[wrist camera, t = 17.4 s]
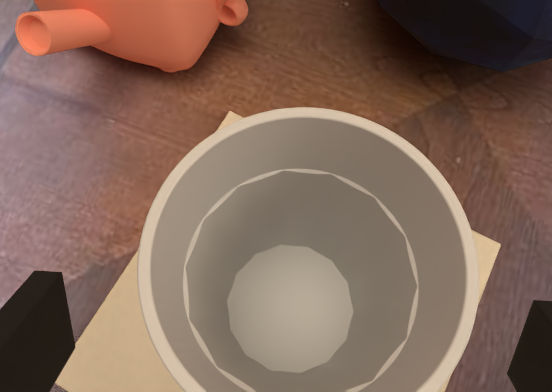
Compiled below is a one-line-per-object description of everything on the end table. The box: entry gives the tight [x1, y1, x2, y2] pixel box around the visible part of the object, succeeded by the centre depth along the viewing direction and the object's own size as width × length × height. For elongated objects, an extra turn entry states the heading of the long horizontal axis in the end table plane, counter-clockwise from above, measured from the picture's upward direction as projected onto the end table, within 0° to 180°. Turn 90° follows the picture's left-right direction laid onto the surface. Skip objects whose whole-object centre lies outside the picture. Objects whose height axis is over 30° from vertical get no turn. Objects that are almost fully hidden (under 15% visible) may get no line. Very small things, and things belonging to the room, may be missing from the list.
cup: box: [137, 107, 479, 392], centre depth 16 cm, size 8×8×12 cm
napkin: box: [55, 111, 501, 392], centre depth 22 cm, size 16×16×1 cm
